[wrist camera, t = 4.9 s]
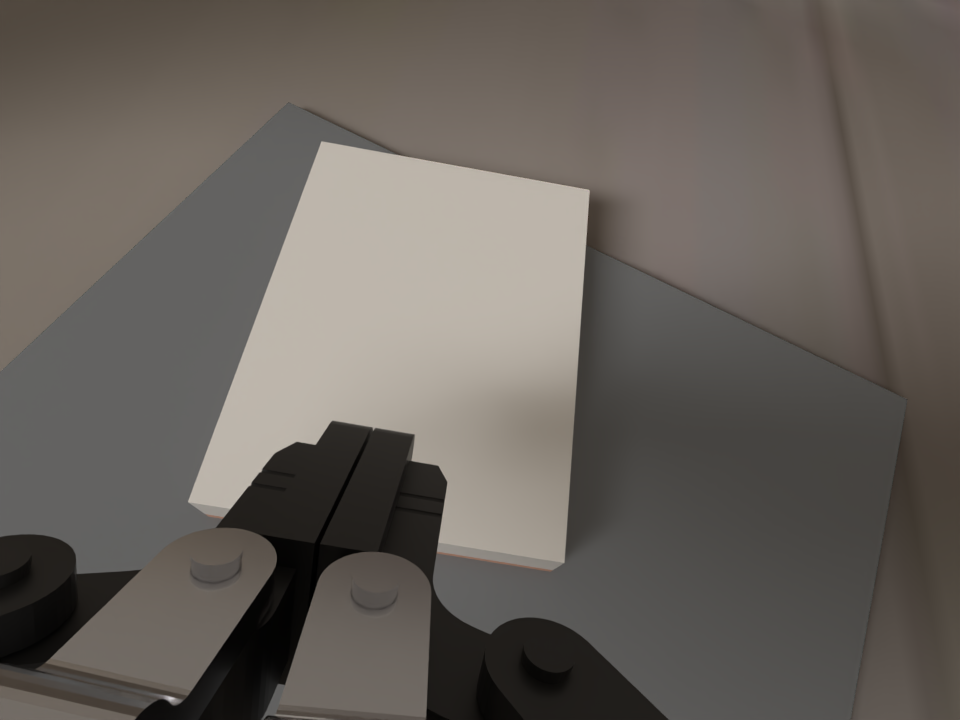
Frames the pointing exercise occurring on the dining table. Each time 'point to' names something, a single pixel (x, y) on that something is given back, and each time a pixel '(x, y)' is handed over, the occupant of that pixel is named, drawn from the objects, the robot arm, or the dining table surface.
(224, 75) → the dining table surface
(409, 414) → the tile
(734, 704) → the mat
